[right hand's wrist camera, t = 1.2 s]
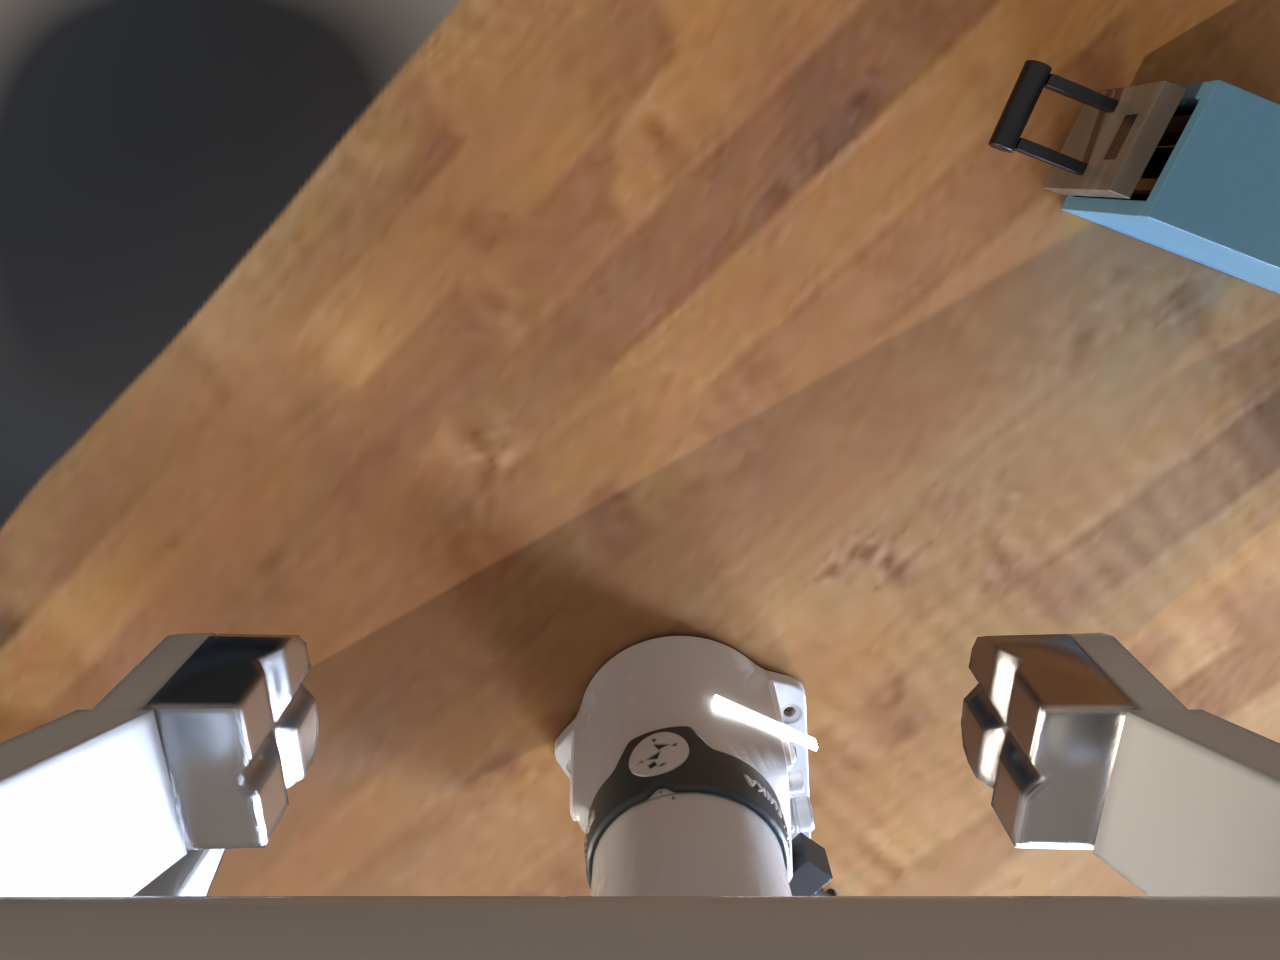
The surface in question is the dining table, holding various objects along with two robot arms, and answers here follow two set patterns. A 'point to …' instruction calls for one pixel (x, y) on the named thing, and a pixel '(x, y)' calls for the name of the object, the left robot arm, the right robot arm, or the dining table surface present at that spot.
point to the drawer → (1098, 134)
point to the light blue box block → (1211, 188)
